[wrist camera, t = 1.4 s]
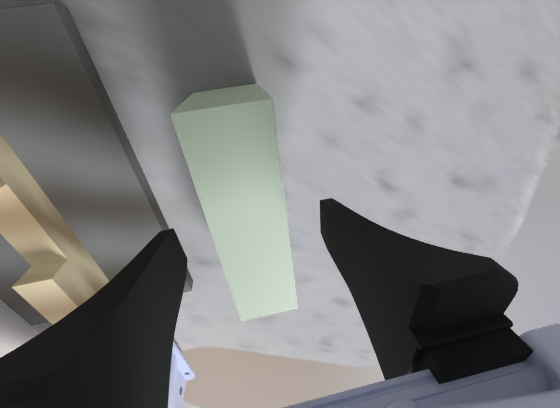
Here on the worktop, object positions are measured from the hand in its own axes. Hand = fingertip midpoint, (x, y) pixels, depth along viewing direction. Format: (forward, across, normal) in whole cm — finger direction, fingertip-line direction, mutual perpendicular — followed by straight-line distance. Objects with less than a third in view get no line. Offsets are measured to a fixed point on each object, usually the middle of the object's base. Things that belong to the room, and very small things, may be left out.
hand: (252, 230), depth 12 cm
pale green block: (+5, 0, 0) cm, 5 cm away
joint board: (+5, +12, -1) cm, 13 cm away
